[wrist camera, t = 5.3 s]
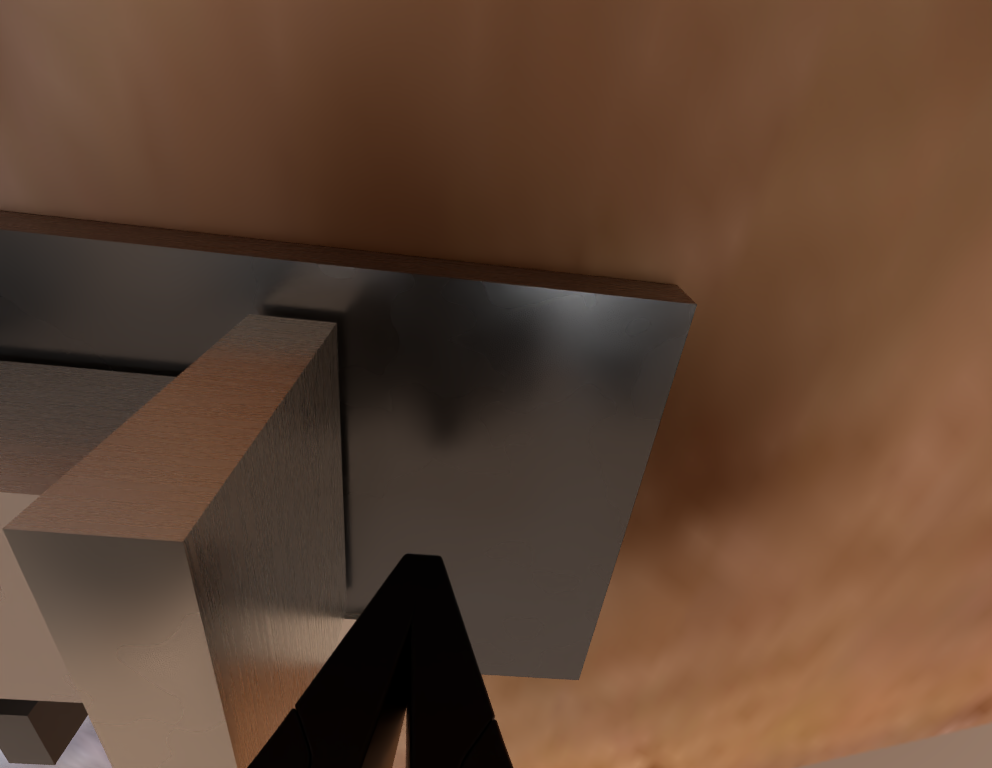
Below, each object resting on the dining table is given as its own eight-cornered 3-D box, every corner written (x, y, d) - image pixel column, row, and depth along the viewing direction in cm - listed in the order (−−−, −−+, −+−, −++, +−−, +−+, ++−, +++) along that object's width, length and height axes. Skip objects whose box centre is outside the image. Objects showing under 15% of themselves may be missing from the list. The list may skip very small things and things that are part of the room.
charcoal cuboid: (101, 617, 13) (27, 715, 11) (120, 665, 14) (54, 764, 12) (60, 614, 13) (-22, 713, 11) (81, 663, 14) (9, 763, 12)
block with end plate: (336, 322, 10) (182, 542, 5) (348, 652, 14) (276, 931, 9) (-96, 279, 9) (-750, 474, 4) (63, 635, 14) (-166, 920, 9)
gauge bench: (676, 285, 11) (935, 534, 5) (573, 643, 17) (624, 975, 10) (-358, 171, 10) (-1978, 298, 3) (-87, 601, 15) (-492, 950, 9)
